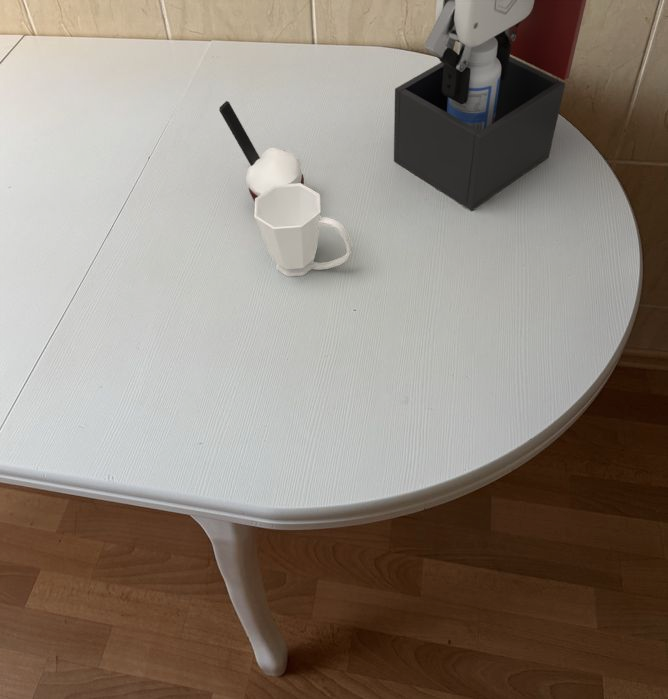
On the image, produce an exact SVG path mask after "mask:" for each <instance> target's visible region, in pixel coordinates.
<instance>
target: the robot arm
mask: <svg viewBox="0 0 668 699" xmlns="http://www.w3.org/2000/svg"><path fill="white" fill-rule="evenodd" d="M533 5H534V0H436V2H435V23H434V25H433V27H432V29H431V30H430V33H429V35H428V37H427V39H426V40H425V42H424V49H425V50H427V52H429V53H431V54H432V55H434V56H435V57H436V58H437V59H438V60H439V61H440V63H441V62H442V63H444V67H443V80H442V93H443V95H445V96H447V97H449V98H450V99H452V100H454V101H456V102H458V103H460V104H464V103H466V102H467V99H468V91H469V82H470V73H471V69H470V68H468V67H467V64H468V61H469V57H470V54H471V51H472V48H473V47H475V46H478V45H480V44H482V43H484V42H485V41H487V40H489V39H491V38H493V37H494V38H495V39H496V40H497V42H498V46H497V55H496V58H497V59H498V60H499V61H500V63H501V77H500V80H503V79H505V78H506V77H507V71H508V64H509V58H510V57H511V55H510V51H511V44H509V43H512V42H513V41H514V40H515V39H516V36H517V29H516V28H517V27H518V25H519V23H520V22H521V21H522V20H523V19H525V18H526V17H527V16H528V15H529V14H530V12H531V11H532V9H533ZM456 42H457V43H458V44H459V43H461V44H462V46H461V49H460V52H459V55H458V54H457V52H456V51H455V50H454V49H455V46H456Z"/></svg>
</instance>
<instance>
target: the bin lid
mask: <svg viewBox="0 0 668 699" xmlns="http://www.w3.org/2000/svg"><path fill="white" fill-rule="evenodd" d="M586 4H587V0H534V5H533V9H532V11H531V12H530V14H529V15H528V16H527V17H526V18H525V19H523V20H522V21H521V22H520V23H519V25H518V27H517V28H516V29H517V36H516V39H515V40H514V41H513V42H512V43H509V44H511V51H510V56H511V57H512V56H513V57H515V58H516V59H518V60H520V61H523V62H525V63H526V64H529V65H531V66H532V67H534V68H536V69H537V68H538V69H539V70H541V71H544V72H545V73H547V74H550V75H552V76H554V77H556V78H557V79H558V78H559V80H563V81H566V80H567V79H569V78H570V74H571V70H572V65H573V62H574V56H575V53H576V49H577V43H578V39H579V36H580V31H581V26H582V22H583V18H584V13H585V9H586Z"/></svg>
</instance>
